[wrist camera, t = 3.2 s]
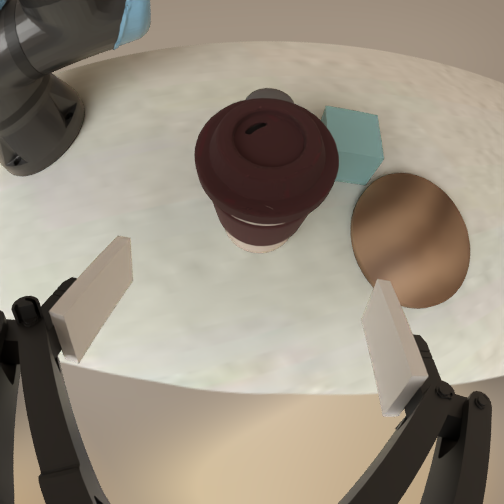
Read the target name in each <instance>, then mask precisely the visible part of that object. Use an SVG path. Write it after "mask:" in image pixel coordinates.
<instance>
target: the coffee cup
mask: <svg viewBox="0 0 504 504" xmlns="http://www.w3.org/2000/svg"><path fill="white" fill-rule="evenodd" d="M195 164H196V169H197V173H198V177H199V180H200V183H201V185H202V187H203V189H204V191H205V192H206V194H207V195H208V196H209V198H210V199H211V200H212V201H213V204H214V207H215V209H216V212H217V215H218V217H219V220H220V222H221V224H222V225H223V227H224V228H225V230H226V233H227V235H228V236H229V238H230V239H231V240H232V241H233V243H235V244H236V245H237V246H238V247H240V248H241V249H244V250H246V251H249V252H253V253H267V252H270V251H273V250H275V249H277V248H279V247H281V246H282V245H283V244H284V243H285V242H286V241H287V240H288V239H289V237H290V236H292V235H293V234H294V233H295V232H296V231H297V229H298V228H299V227H300V225H301V224H302V222H303V221H304V219H305V218H306V217H307V215H308V214H309V213H310V212H312V211H313V210H314V209H316V208H317V207H318V206H319V205H320V204H321V203H322V202H323V201H324V199H325V198H326V197H327V195H328V194H329V192H330V190H331V188H332V186H333V184H334V182H335V180H336V177H337V173H338V169H339V154H338V150H337V146H336V143H335V140H334V138H333V136H332V135H331V133H330V131H329V130H328V128H327V127H326V126H325V125H324V123H323V122H322V121H321V120H320V119H318V118H317V117H316V116H315V115H314V114H312V113H311V112H309V111H308V110H306V109H305V108H303V107H300V106H298V105H296V104H294V103H291V102H288V101H284V100H280V99H272V98H256V99H248V100H244V101H239V102H237V103H234V104H231V105H229V106H227V107H225V108H224V109H222V110H220V111H219V112H218V113H217V114H215V115H214V116H213V117H211V119H210V120H209V121H208V122H207V123H206V124H205V126H204V127H203V129H202V130H201V132H200V134H199V136H198V139H197V142H196V147H195Z"/></svg>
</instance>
